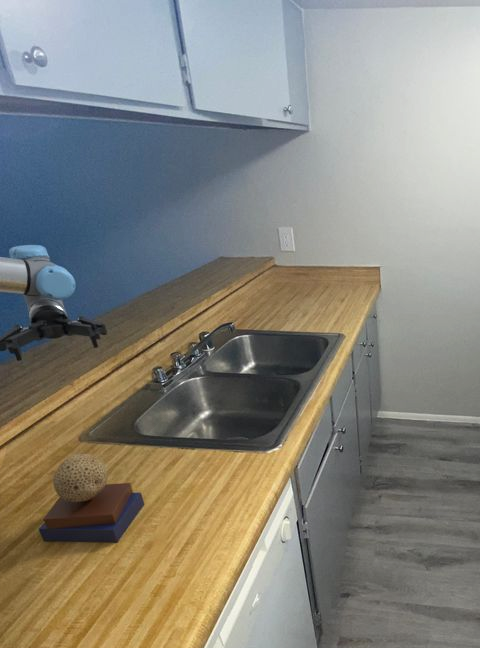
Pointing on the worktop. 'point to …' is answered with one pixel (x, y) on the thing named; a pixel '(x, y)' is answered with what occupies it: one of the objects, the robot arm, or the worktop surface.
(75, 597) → the worktop surface
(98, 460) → the natural sponge
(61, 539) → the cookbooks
